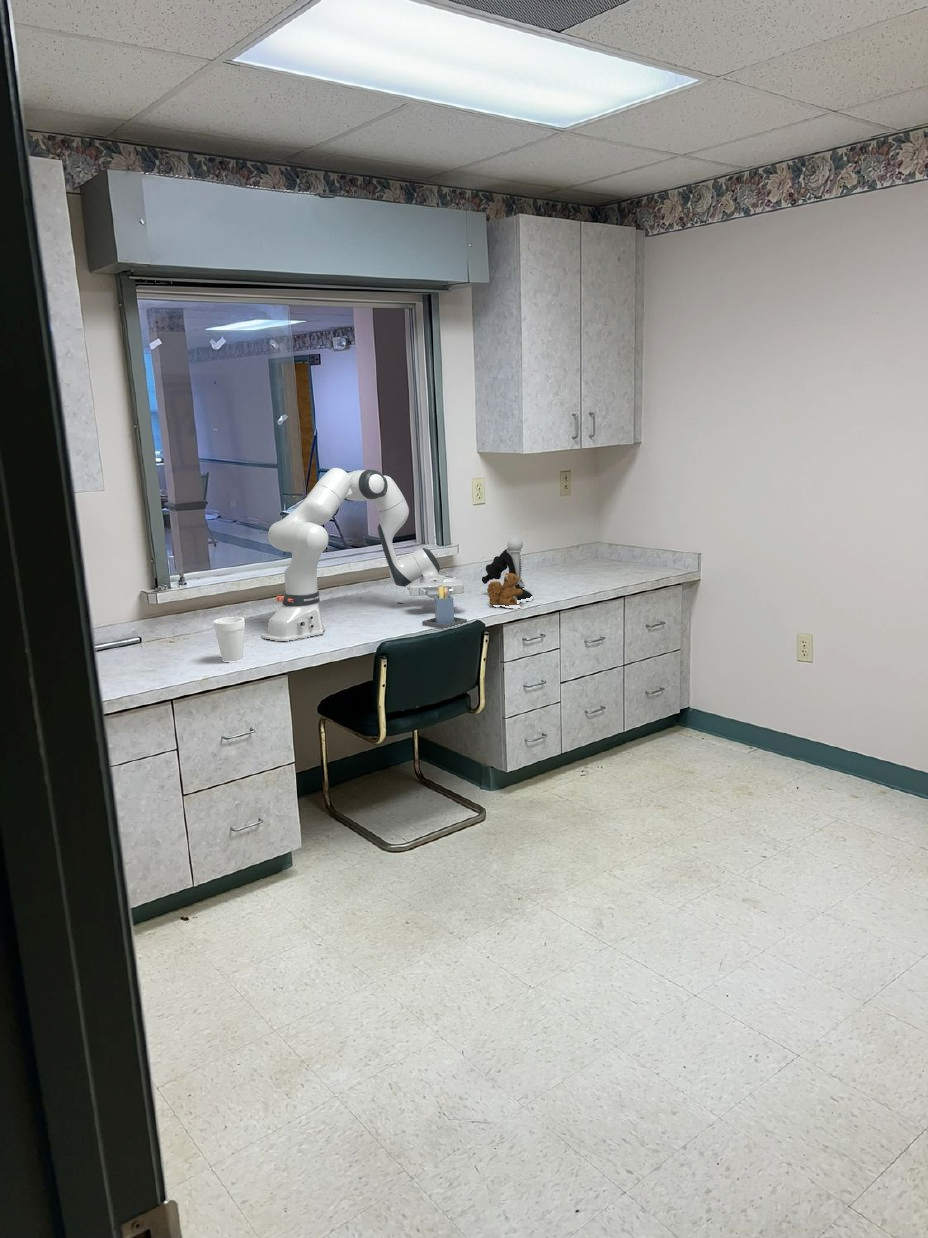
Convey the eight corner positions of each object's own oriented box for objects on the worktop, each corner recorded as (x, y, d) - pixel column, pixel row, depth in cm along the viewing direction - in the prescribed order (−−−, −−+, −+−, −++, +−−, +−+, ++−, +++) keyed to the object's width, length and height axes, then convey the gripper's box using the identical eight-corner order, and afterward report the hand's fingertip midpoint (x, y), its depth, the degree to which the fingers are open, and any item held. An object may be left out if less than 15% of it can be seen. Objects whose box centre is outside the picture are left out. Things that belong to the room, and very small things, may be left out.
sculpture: (518, 604, 358) (517, 541, 353) (471, 598, 373) (469, 537, 367) (541, 598, 370) (540, 536, 364) (494, 592, 384) (492, 532, 379)
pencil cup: (437, 627, 323) (436, 599, 321) (435, 623, 329) (434, 595, 327) (454, 625, 324) (453, 598, 322) (451, 622, 330) (450, 594, 328)
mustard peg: (442, 623, 324) (441, 587, 322) (439, 623, 325) (437, 587, 323) (445, 622, 325) (443, 586, 323) (442, 622, 326) (440, 586, 324)
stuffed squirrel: (522, 609, 350) (521, 575, 347) (485, 609, 352) (484, 575, 349) (524, 604, 359) (523, 570, 356) (488, 604, 362) (487, 571, 359)
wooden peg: (447, 622, 326) (445, 586, 323) (444, 622, 327) (442, 586, 323) (450, 621, 327) (448, 586, 324) (447, 621, 328) (445, 585, 325)
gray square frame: (445, 631, 319) (445, 625, 319) (422, 627, 326) (422, 621, 326) (467, 625, 327) (466, 619, 327) (443, 621, 334) (443, 615, 334)
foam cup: (250, 655, 295) (247, 616, 292) (245, 663, 286) (241, 623, 283) (220, 657, 295) (217, 617, 292) (214, 665, 286) (210, 624, 283)
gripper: (406, 578, 346) (410, 585, 333) (460, 576, 349) (465, 582, 336) (406, 595, 347) (410, 602, 334) (460, 592, 350) (466, 599, 337)
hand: (438, 592), depth 335 cm, fingers open, 8 cm apart
